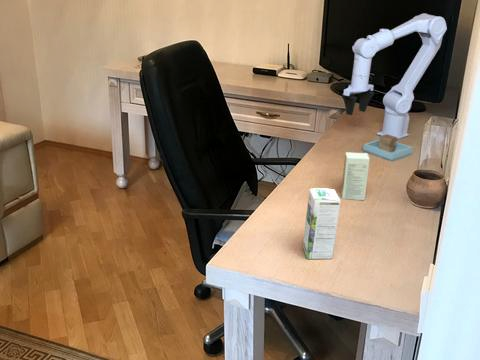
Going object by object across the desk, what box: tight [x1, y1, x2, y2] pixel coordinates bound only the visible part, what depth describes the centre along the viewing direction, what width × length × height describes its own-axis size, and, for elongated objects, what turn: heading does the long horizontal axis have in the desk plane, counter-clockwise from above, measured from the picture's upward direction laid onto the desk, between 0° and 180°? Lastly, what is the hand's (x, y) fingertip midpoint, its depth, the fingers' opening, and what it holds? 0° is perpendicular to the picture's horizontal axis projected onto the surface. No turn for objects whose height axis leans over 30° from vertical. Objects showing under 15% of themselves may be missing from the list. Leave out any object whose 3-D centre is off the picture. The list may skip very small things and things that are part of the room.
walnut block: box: [379, 134, 398, 152], centre depth 177 cm, size 4×4×5 cm
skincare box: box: [340, 151, 371, 201], centre depth 142 cm, size 6×4×12 cm
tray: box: [362, 138, 414, 162], centre depth 178 cm, size 12×12×2 cm
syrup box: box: [302, 187, 341, 260], centre depth 114 cm, size 6×6×14 cm
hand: (355, 112), depth 187 cm, fingers open, 7 cm apart
